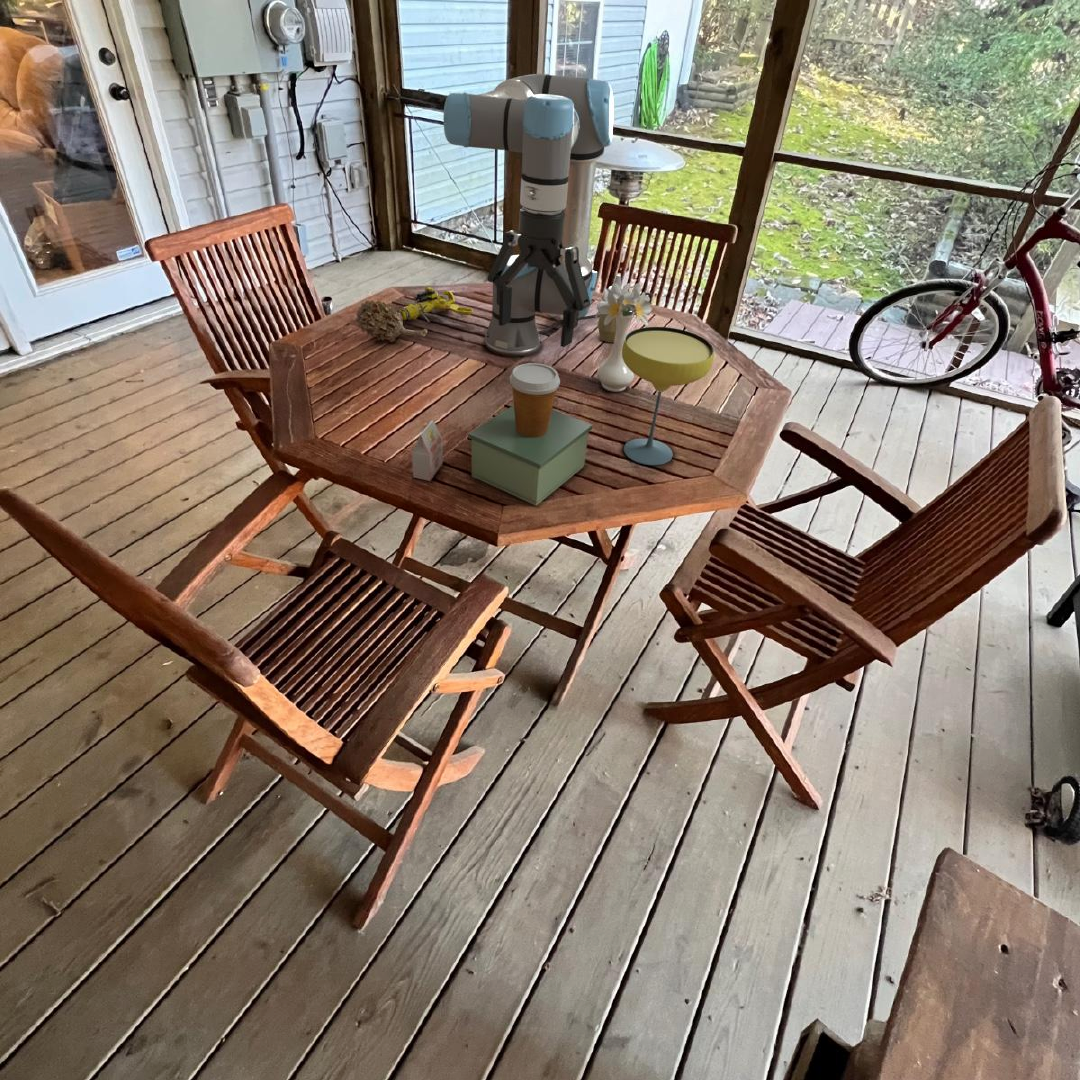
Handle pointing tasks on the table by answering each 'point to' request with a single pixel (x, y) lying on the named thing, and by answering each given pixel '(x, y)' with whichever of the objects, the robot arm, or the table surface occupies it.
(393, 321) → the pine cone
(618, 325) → the flower vase
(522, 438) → the green lidded box
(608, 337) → the squeeze bottle
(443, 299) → the sprinkler
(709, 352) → the cocktail glass
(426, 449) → the white gable carton
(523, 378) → the disposable coffee cup
